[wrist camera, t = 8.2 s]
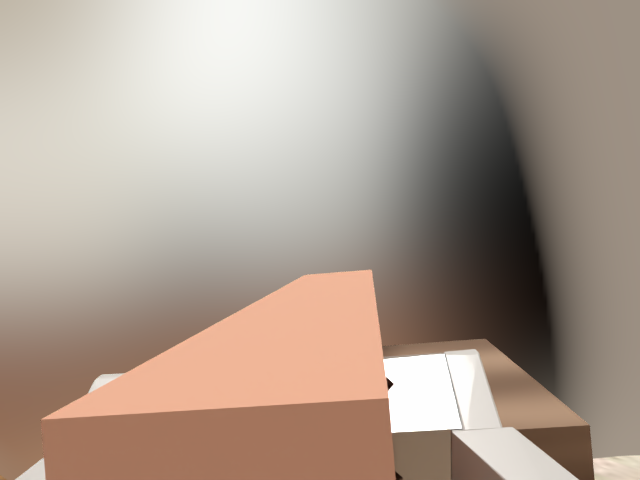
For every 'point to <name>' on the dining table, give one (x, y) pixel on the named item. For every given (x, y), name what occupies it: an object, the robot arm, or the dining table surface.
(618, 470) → the dining table surface
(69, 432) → the rail
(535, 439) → the stand
